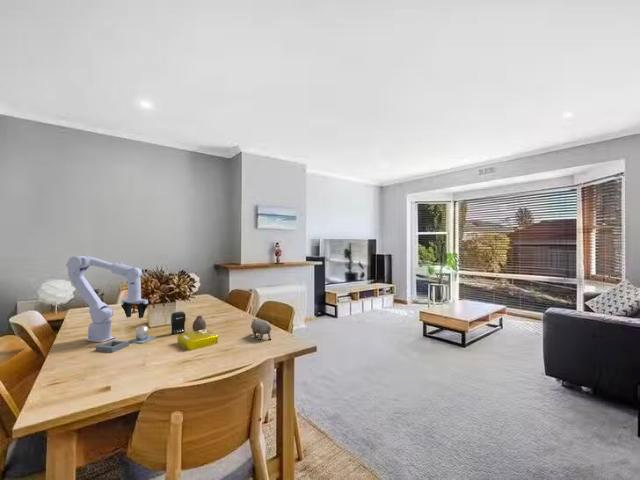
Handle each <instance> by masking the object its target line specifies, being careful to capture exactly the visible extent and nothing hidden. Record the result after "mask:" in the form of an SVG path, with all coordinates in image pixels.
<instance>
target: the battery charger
mask: <svg viewBox="0 0 640 480" xmlns="http://www.w3.org/2000/svg"><path fill="white" fill-rule="evenodd" d="M186 319H187V317H186V313H185V312H184V311H183V310H182V311H173V312H172V313H171V315H170V329H171V330H170V334H171V335H180V334H185V332H186V329H185V325H186V323H185V322H187V321H186Z"/></svg>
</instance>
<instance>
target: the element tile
mask: <svg viewBox="0 0 640 480" xmlns="http://www.w3.org/2000/svg"><path fill="white" fill-rule="evenodd" d="M218 343H219V335H218V334H216V333H215V332H213V331H210V330H208V329H207V328H206V329H204V330H199V331H190V332H186V333H185V332H184V333H179V334H177V345H178V346H180V347H182V348H183V349H184V350H186V351H194V350H197V349H198V350H199V349H201V348H202V349H203V348H205V347H209V346H213V345H216V344H218Z"/></svg>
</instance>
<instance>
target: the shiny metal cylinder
mask: <svg viewBox="0 0 640 480" xmlns="http://www.w3.org/2000/svg"><path fill="white" fill-rule="evenodd" d="M148 329H149V326H147V325H140V326H136V328H135V330H136V331H135V338H136V340H137V341H143V340H146V339H148V336H149V335H148V334H149V333H148V331H149V330H148Z"/></svg>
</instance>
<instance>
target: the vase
mask: <svg viewBox="0 0 640 480" xmlns="http://www.w3.org/2000/svg"><path fill="white" fill-rule="evenodd" d="M204 329H206V330H207V323H206V321H205V319H204V318H203V316H202V315H197V316H196V318H195V319H194V321H193V322H192V332H194V331H199V330H204Z"/></svg>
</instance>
